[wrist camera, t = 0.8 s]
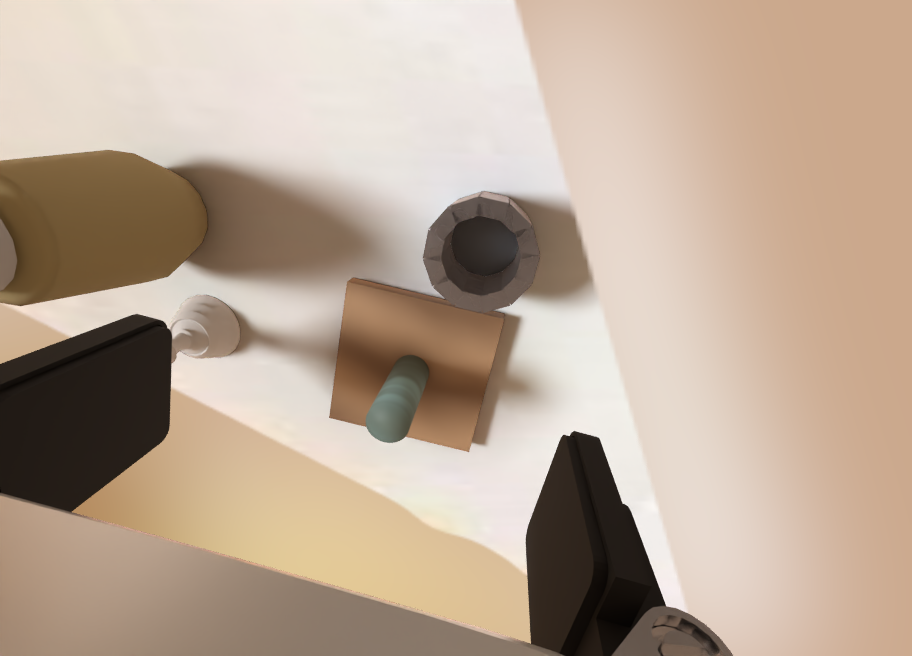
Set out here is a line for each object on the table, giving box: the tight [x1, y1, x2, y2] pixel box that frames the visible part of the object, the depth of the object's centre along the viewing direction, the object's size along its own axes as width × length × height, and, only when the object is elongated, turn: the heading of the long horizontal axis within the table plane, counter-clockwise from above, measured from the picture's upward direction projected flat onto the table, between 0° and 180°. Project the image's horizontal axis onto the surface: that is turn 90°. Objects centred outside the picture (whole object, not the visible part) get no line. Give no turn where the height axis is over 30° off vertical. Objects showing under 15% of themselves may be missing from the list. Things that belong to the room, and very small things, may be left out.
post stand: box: [329, 278, 505, 452], centre depth 30 cm, size 11×11×8 cm
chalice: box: [170, 295, 241, 363], centre depth 26 cm, size 7×7×18 cm
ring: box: [423, 191, 540, 313], centre depth 28 cm, size 6×6×5 cm
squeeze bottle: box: [0, 150, 208, 306], centre depth 23 cm, size 8×8×18 cm
